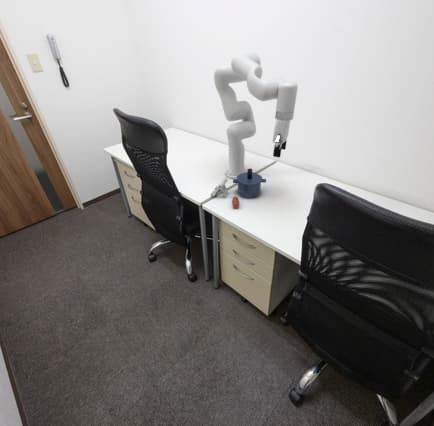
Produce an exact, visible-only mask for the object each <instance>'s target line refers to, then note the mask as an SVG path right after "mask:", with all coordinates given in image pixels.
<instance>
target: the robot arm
mask: <svg viewBox="0 0 434 426" xmlns="http://www.w3.org/2000/svg"><path fill="white" fill-rule="evenodd" d="M261 64H262V63H261V59H260V56H259V55H258V54H257V53H255V52H246V53H238V54H235V55H234V56H233V57H232V59H231V61H230V64H222V65H219V66H218V67H217V68H216V69H215V70H214V73H213V80H214V81H213V82H214V85H215V88H216V91H217V93H218V95H219V97H220V101H221V102H220V103H221V105H222V109H223V114H224V117H225V119H226V120H227V121H228V122H234V123H232V124H230V125H228V126H227V127H226V136H227V144H228V170H227V171H226V176H227V177H228V178H230V179H237V176H238V175H240V174H242V173H245V172H247V171H246V170H245V155H246V154H245V153H246V152H245V151H246V150H245V149H246V148H245V145H244V142H243V140H245V139H249V138H252V137H254V136H255V135H256V132H257V125H256V122H255V117H254V113H253V110H252V109H253V108H252V106H251V103H250V102H248V101H247V100H240V101H238V98H237V93H236V92H235V90H234V89H233V87H232V86H231V85H230V84H235V83H242V82H246V86H247V90H248V92H249V93H250V95H251V96H253V97H254V98H255V99H256V100H258V101H260V102H267V101H272V100H276V106H275V116H274V119H275V125H274V131H273V137H272V143H273V144H274V146H273V154H272V156H273V157H274V158H281V154H282V150H283V151H284V150H286V147H287V140H288V137H289V133H290V127H291V126H290V125H291V121H293V119H294V116H295V115H294V114H295V106H296V101H297V94H298V88H299V87H298V84H297V82H294V81H287V80H285V79H283V78H275V79H268V80H262V79H261V78H262V76H263V67H262V66H261ZM240 120H241V121H240ZM235 121H238V122H235Z"/></svg>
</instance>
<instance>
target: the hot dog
mask: <svg viewBox="0 0 434 426" xmlns="http://www.w3.org/2000/svg"><path fill="white" fill-rule="evenodd" d="M232 207H233V208H234V209H238V208H239V207H240V200H239V197H238V196H233V197H232Z"/></svg>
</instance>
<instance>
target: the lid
mask: <svg viewBox="0 0 434 426" xmlns="http://www.w3.org/2000/svg"><path fill="white" fill-rule="evenodd" d="M262 179H263V176H262V175H261V174H259V173H256V172H253V169H252V168H247V171H246V172H245V173H242V174H240V175H238V176H237V181H238V182H239V183H241V184H244V185H256V184H259V183H260V182H261V181H262ZM261 183H262V182H261Z"/></svg>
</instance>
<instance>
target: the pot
mask: <svg viewBox="0 0 434 426" xmlns="http://www.w3.org/2000/svg"><path fill="white" fill-rule="evenodd" d="M262 183H267V179H266V178H262V181H261V182H260V183H259V184H256V185H244V184H241V183H239V182H238V181H237V179H234V178H232V184H237V195H238V196H239V197H240V198H243V199H255V198H257V197H259V196H260V195H261V187H262Z"/></svg>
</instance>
